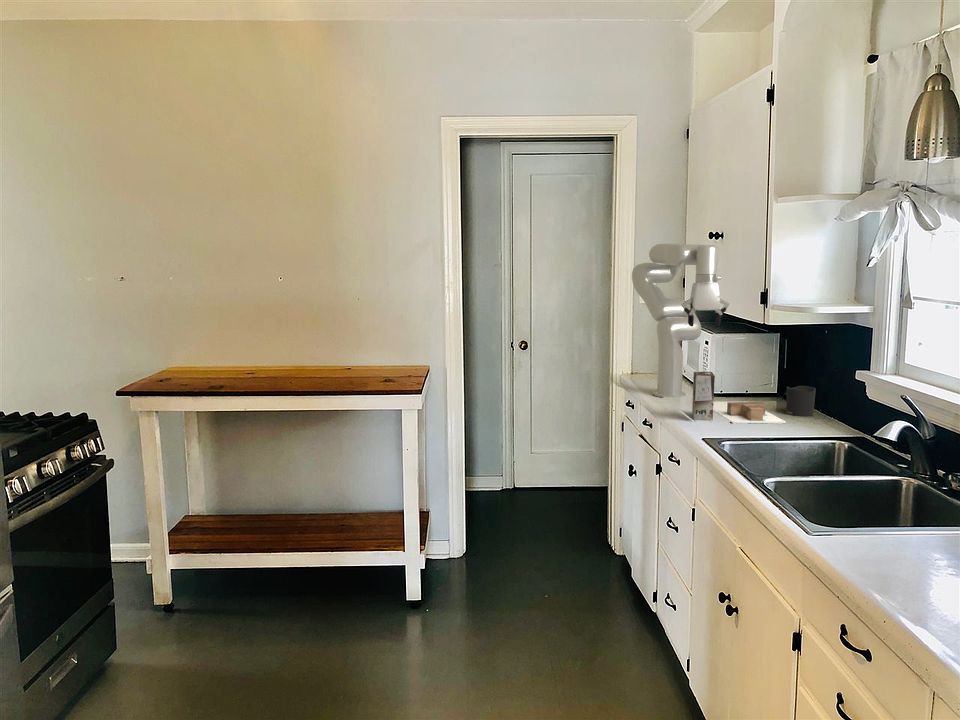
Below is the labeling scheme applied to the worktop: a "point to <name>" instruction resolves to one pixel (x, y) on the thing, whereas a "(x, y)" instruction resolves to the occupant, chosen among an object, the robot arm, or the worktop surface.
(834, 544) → the worktop surface
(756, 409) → the t block
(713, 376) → the coffee box
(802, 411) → the pen holder
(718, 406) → the board
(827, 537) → the worktop surface
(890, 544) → the worktop surface
